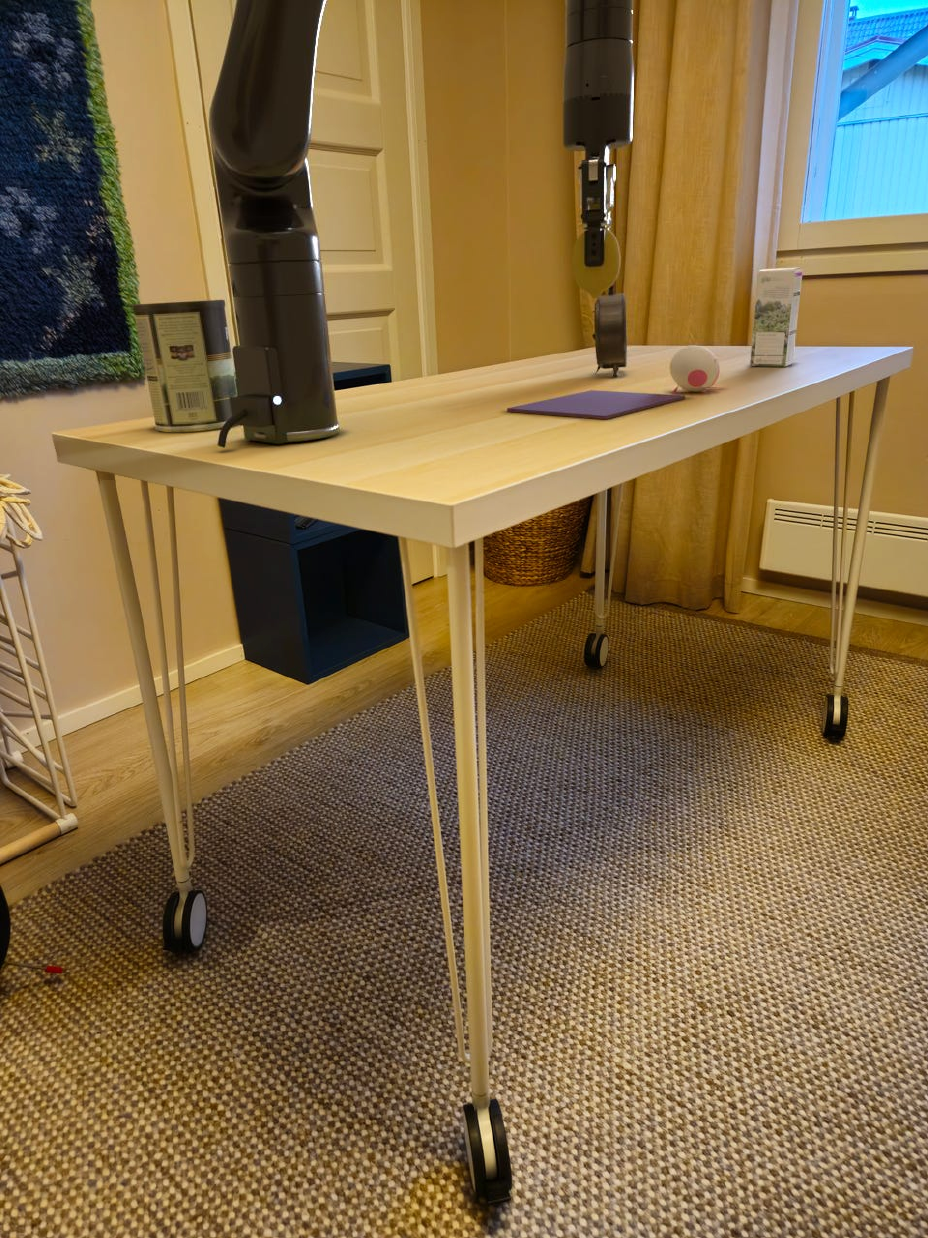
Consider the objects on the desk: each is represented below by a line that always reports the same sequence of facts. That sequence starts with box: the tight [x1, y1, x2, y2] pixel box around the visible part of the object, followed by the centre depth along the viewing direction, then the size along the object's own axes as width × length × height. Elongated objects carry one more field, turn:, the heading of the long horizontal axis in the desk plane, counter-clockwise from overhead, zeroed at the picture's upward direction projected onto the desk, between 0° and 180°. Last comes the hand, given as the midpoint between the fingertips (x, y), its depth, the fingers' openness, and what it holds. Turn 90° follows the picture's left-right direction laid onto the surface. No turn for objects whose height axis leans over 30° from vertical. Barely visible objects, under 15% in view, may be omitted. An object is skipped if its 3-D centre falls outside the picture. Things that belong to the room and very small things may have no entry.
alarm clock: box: [591, 283, 628, 378], centre depth 129 cm, size 11×5×16 cm, turn 168°
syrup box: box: [749, 266, 803, 367], centre depth 131 cm, size 6×6×14 cm
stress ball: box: [669, 345, 721, 394], centre depth 108 cm, size 8×8×7 cm
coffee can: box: [131, 299, 238, 433], centre depth 98 cm, size 10×10×14 cm
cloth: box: [506, 389, 686, 420], centre depth 101 cm, size 18×14×1 cm
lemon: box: [571, 228, 621, 300], centre depth 95 cm, size 6×6×8 cm
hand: (595, 265), depth 96 cm, fingers closed on lemon, 5 cm apart
